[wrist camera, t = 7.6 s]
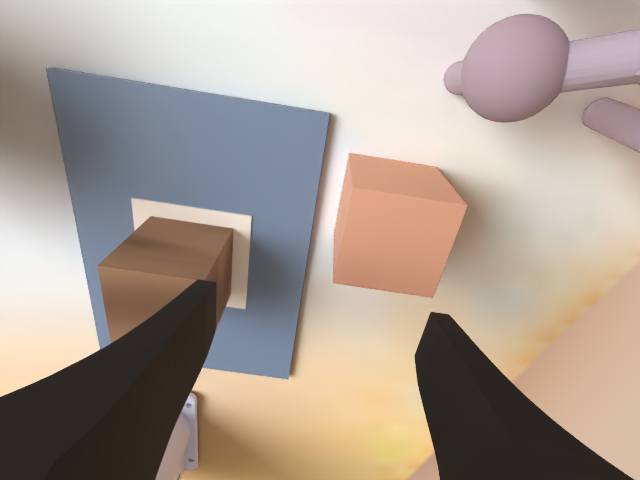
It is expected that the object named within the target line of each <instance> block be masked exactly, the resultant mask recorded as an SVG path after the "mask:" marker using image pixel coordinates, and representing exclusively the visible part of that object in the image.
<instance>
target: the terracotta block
mask: <svg viewBox="0 0 640 480" xmlns="http://www.w3.org/2000/svg"><path fill="white" fill-rule="evenodd" d="M467 206H468V205H467V204H466V203H465V201H464V200H463V199H462V198H461V196H460V195H459V194H458V193H457V191H456V190H455V189H454V188H453V186H452V185H451V184H450V183H449V182H448V180H447V179H446V178H445V177H444V175H443V174H442V173H441V172H440V170H439V169H438V168H437V167H434V166H427V165H421V164H415V163H409V162H402V161H396V160H390V159H384V158H378V157H371V156H365V155H359V154H353V153H349V155H348V160H347V166H346V171H345V176H344V182H343V187H342V192H341V197H340V203H339V208H338V213H337V218H336V224H335V229H334V260H333V283H336V284H343V285H349V286H356V287H363V288H370V289H377V290H383V291H390V292H397V293H404V294H410V295H417V296H424V297H431V298H433V297H434V294H435V292H436V289H437V286H438V284H439V281H440V278H441V276H442V273H443V270H444V268H445V265H446V262H447V260H448V257H449V254H450V252H451V249H452V246H453V244H454V241H455V238H456V236H457V233H458V230H459V228H460V225H461V222H462V220H463V217H464V214H465V212H466V209H467Z"/></svg>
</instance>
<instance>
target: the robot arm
mask: <svg viewBox="0 0 640 480" xmlns="http://www.w3.org/2000/svg"><path fill="white" fill-rule="evenodd" d="M215 331H216V282H213V281H206V280H199V279H198V280H197V281H195V282H194V283H193V284H191V285H190V286H189V287H188V288H186V289H185V290H184V291H183V292H181V293H180V294H179V295H178V296H176V297H175V298H174V299H173V300H171V301H170V302H169V303H168V304H166V305H165V306H164V307H162V308H161V309H160V310H159V311H157V312H156V313H155V314H153V315H152V316H151V317H149V318H148V319H147V320H145V321H144V322H142V323H141V324H139V325H138V326H137V327H135V328H134V329H132V330H131V331H129V332H128V333H126V334H125V335H123V336H122V337H120V338H119V339H117V340H116V341H114V342H112V343H111V344H109V345H107V346H106V347H104V348H102V349H100V350H99V351H97V352H95V353H94V354H92V355H90V356H88V357H86V358H84V359H82V360H80V361H78V362H76V363H74V364H72V365H70V366H68V367H66V368H64V369H62V370H60V371H58V372H56V373H55V374H52V375H50V376H48V377H46V378H44V379H42V380H39V381H37V382H35V383H33V384H30V385H28V386H26V387H23V388H21V389H19V390H16V391H14V392H11V393H9V394H7V395H4V396H2V397H0V480H181V477H182V475H183V472H184V469H186V470H195V469H197V466H198V422H197V396H196V395H195V394H193V393H190V392H191V390H192V388H193V386H194V384H195V382H196V380H197V377H198V375H199V373H200V371H201V369H202V367H203V365H204V362H205V360H206V358H207V356H208V353H209V350H210V347H211V344H212V341H213V338H214V335H215ZM415 364H416V373H417V381H418V387H419V391H420V395H421V399H422V403H423V407H424V411H425V415H426V419H427V423H428V427H429V431H430V435H431V438H432V442H433V446H434V450H435V455H436V459H437V464H438V470H439V476H440V480H634V479H632V478H631V477H629V476H628V475H626V474H625V473H624V472H622V471H620V470H619V469H618V468H616V467H615V466H613V465H612V464H610V463H609V462H607V461H606V460H605V459H603V458H602V457H600V456H599V455H597V454H596V453H595V452H594V451H592V450H591V449H589V448H588V447H587V446H585V445H584V444H583V443H581V442H580V441H579V440H578V439H576V438H575V437H574V436H572V435H571V434H570V433H569V432H567V431H566V430H565V429H563V428H562V427H561V426H560V425H558V424H557V423H556V422H555V421H553V420H552V419H551V418H550V417H549V416H547V415H546V414H545V413H544V412H543V411H542V410H541V409H540V408H538V407H537V406H536V405H535V404H534V403H533V402H532V401H530V400H529V399H528V398H527V397H526V396H525V395H524V394H523V393H522V392H521V391H520V390H519V389H517V387H516V386H515V385H514V384H513V383H512V382H511V381H510V380H509V379H508V378H507V377H506V376H505V375H503V373H502V372H501V371H500V370H499V369H498V368H497V367H496V366H495V365H494V364H493V363H492V362H491V361H490V360H489V359H488V358H487V357H486V355H485V354H484V353H483V352H482V351H481V350H480V349H479V348H478V347H477V345H476V344H475V343H474V342H473V341H472V340H471V339H470V338H469V336H468V335H467V334H466V333H465V332H464V331H463V330H462V328H461V327H460V326H459V325H458V324H457V323H456V322H455V321H454V319H453V318H452V317H451V316H450V315H449V314H442V313H435V312H431V313H430V316H429V318H428V321H427V324H426V326H425V329H424V332H423V334H422V337H421V340H420V343H419V345H418V348H417V351H416V353H415Z"/></svg>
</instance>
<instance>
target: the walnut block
mask: <svg viewBox="0 0 640 480" xmlns="http://www.w3.org/2000/svg"><path fill="white" fill-rule="evenodd" d="M232 253H233V228H227V227H220V226H214V225H207V224H200V223H194V222H187V221H180V220H174V219H167V218H160V217H154V216H150V217H149V218H148V219H147V220H146V221H145V222H144V223H143V224H142V225H140V226H139V227H138V228H137V229H136V230H135V231H134V232H133V233H132V234H131V235H130V236H129V237H128V238H126V239H125V240H124V241H123V242H122V243H121V244H120V245H119V246H118V247H117V248H116V249H115V250H114V251H113V252H111V253H110V254H109V255H108V256H107V257H106V258H105V259H104V260H103V261H102V262H101V263H100V264H99V265H97V267H98V273H99V279H100V284H101V290H102V296H103V302H104V307H105V313H106V319H107V325H108V330H109V336H110V342H111V343H112V342H114V341H116V340H117V339H119V338H120V337H122V336H123V335H125V334H126V333H128V332H129V331H131V330H132V329H134V328H135V327H137V326H138V325H139V324H141V323H142V322H144V321H145V320H147V319H148V318H149V317H151V316H152V315H153V314H155V313H156V312H157V311H159V310H160V309H161V308H162V307H164V306H165V305H166V304H168V303H169V302H170V301H171V300H173V299H174V298H175V297H176V296H178V295H179V294H180V293H181V292H183V291H184V290H185V289H186V288H188V287H189V286H190V285H191V284H193V283H194V282H195V281H197V280H198V279H199V280H206V281H213V282H216V328H217V326H218V324H219V321H220V319H221V316H222V314H223V312H224V309H225V307H226V305H227V302H228V300H229V297H230V295H231V279H232Z"/></svg>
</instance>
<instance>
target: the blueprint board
mask: <svg viewBox="0 0 640 480" xmlns="http://www.w3.org/2000/svg"><path fill="white" fill-rule="evenodd" d="M46 71H47V76H48V81H49V86H50V91H51V97H52V102H53V107H54V112H55V117H56V122H57V128H58V133H59V138H60V143H61V148H62V154H63V159H64V164H65V169H66V174H67V180H68V185H69V190H70V195H71V200H72V205H73V211H74V216H75V221H76V226H77V231H78V237H79V242H80V247H81V252H82V257H83V262H84V268H85V273H86V278H87V283H88V288H89V294H90V299H91V304H92V309H93V314H94V319H95V325H96V330H97V335H98V340H99V345H100V349H102V348H104V347H106V346H107V345H109V344H111V342H110V336H109V330H108V325H107V319H106V313H105V307H104V302H103V296H102V290H101V284H100V279H99V273H98V267H97V265H99V264H100V263H101V262H102V261H103V260H104V259H105V258H106V257H107V256H108V255H109V254H110V253H111V252H113V251H114V250H115V249H116V248H117V247H118V246H119V245H120V244H121V243H122V242H123V241H124V240H125V239H126V238H128V237H129V236H130V235H131V234H132V233H133V232H134V231H135V230H136V229H137V228H138V227H139V226H140V225H142V224H143V223H144V222H145V221H146V220H147V219H148V218H149V217H150V216H154V217H160V218H167V219H174V220H180V221H187V222H194V223H200V224H207V225H214V226H220V227H227V228H233V253H232V279H231V295H230V297H229V300H228V302H227V305H226V307H225V309H224V312H223V314H222V316H221V319H220V321H219V324H218V326H217V328H216V331H215V335H214V338H213V341H212V344H211V347H210V350H209V353H208V356H207V358H206V360H205V362H204V365H203V367H202V368H209V369H216V370H224V371H231V372H238V373H246V374H253V375H260V376H268V377H275V378H282V379H289V373H290V366H291V360H292V353H293V347H294V340H295V334H296V328H297V321H298V315H299V308H300V302H301V295H302V289H303V283H304V276H305V270H306V263H307V257H308V250H309V244H310V238H311V231H312V225H313V218H314V212H315V206H316V199H317V193H318V186H319V180H320V173H321V167H322V161H323V154H324V148H325V141H326V135H327V128H328V122H329V116H330V113H327V112H321V111H315V110H309V109H303V108H297V107H291V106H284V105H278V104H272V103H266V102H260V101H254V100H248V99H242V98H236V97H229V96H223V95H217V94H211V93H205V92H199V91H193V90H187V89H180V88H174V87H168V86H162V85H156V84H150V83H144V82H138V81H132V80H125V79H119V78H113V77H107V76H101V75H95V74H89V73H83V72H77V71H70V70H64V69H58V68H46Z"/></svg>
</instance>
